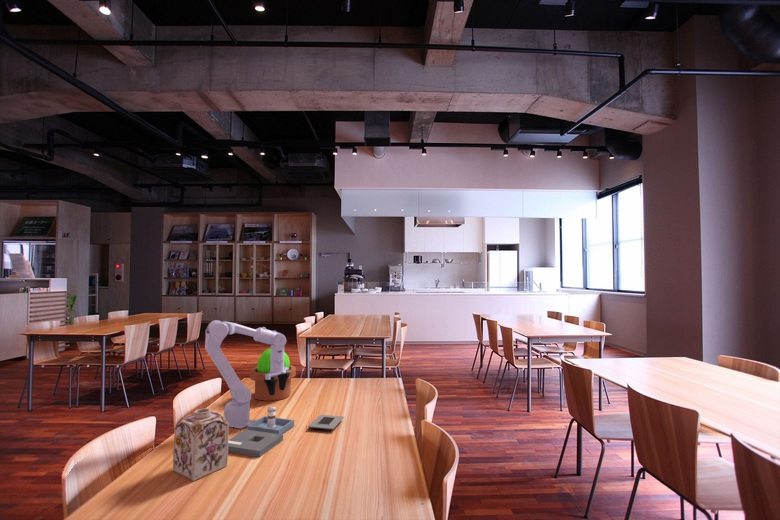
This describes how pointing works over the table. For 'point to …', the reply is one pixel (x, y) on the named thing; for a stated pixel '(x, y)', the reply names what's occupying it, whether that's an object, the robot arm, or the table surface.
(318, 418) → the electrical outlet
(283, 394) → the potted cactus
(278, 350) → the robot arm
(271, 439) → the light bulb socket board
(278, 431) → the tray
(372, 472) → the table surface
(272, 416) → the white light bulb
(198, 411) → the decorative jar
